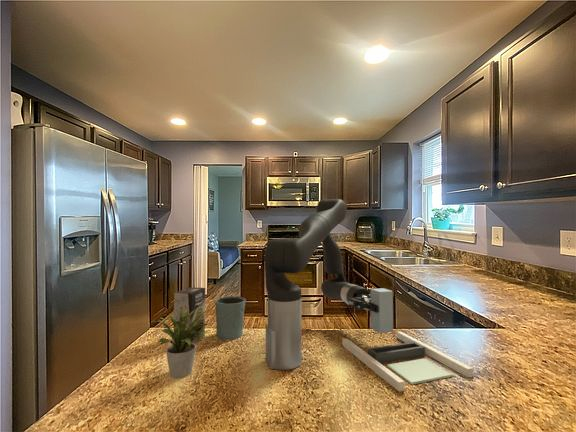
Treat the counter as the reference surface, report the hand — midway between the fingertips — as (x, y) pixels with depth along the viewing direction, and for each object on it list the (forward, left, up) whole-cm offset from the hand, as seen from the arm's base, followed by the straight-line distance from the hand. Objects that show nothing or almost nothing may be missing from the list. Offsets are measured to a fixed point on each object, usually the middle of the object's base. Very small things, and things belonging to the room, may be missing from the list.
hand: (385, 308), depth 85 cm
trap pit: (0, -5, -12) cm, 13 cm away
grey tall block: (0, +2, -7) cm, 7 cm away
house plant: (-58, +3, -12) cm, 59 cm away
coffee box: (-56, +26, -12) cm, 63 cm away
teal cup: (-43, +26, -12) cm, 52 cm away
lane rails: (0, -6, -12) cm, 14 cm away
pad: (0, -13, -12) cm, 18 cm away
